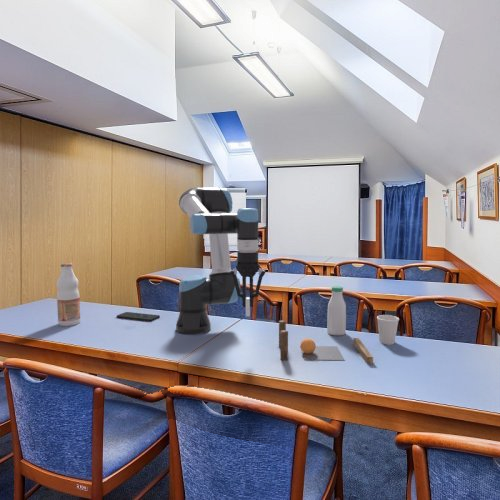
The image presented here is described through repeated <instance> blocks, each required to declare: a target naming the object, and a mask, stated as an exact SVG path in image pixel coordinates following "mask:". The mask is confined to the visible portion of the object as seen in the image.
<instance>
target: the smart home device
mask: <svg viewBox="0 0 500 500" xmlns="http://www.w3.org/2000/svg"><path fill="white" fill-rule="evenodd" d="M160 316H161V315H160V314H150V313H149V314H148V313H141V312H132V311H131V312H130V311H125V312H123V313H119V314H117V315H116V319H123V320H124V319H125V320H130V321H131V320H132V321H138V322H139V321H141V322H151V323H152V322H153V321H156V320H158V319H160Z"/></svg>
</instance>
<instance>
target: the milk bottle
mask: <svg viewBox="0 0 500 500" xmlns="http://www.w3.org/2000/svg"><path fill="white" fill-rule="evenodd" d="M343 292H344V287H342V286H338V285H337V286H332V287H331V297H330V299H329V301H328V304H327V315H326V316H327V318H326V319H327V320H326V323H327V324H326V325H327V327H326V332H327V334H329V335H331V336H344V335H345V334H346V332H347V331H346V329H347V328H346V327H347V306H346V305H347V304H346V301H345V300H344V297H343V294H344V293H343Z"/></svg>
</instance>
